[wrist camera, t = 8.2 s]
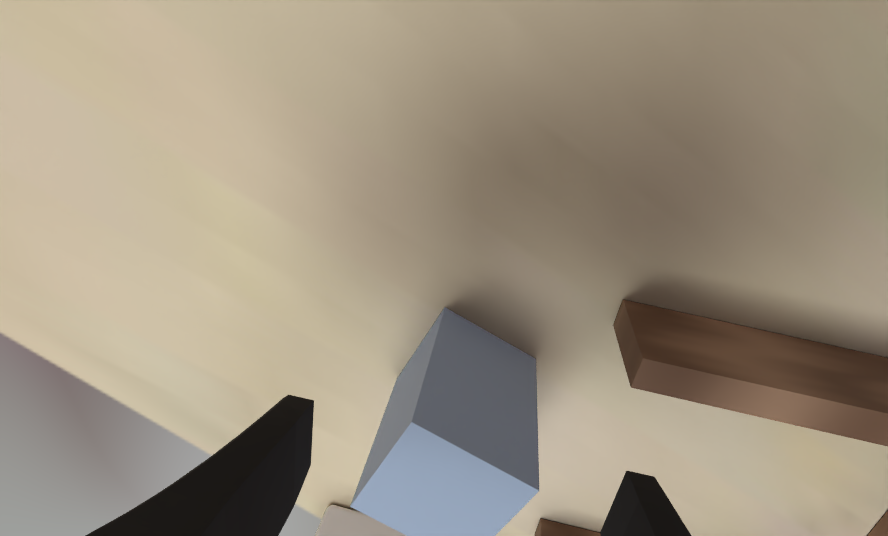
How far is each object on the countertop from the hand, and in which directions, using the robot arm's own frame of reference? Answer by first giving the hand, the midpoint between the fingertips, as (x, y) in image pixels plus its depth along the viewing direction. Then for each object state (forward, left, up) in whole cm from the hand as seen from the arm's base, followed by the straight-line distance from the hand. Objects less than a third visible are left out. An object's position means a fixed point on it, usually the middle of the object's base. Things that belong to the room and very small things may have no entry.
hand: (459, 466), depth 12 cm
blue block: (0, +5, -10) cm, 11 cm away
